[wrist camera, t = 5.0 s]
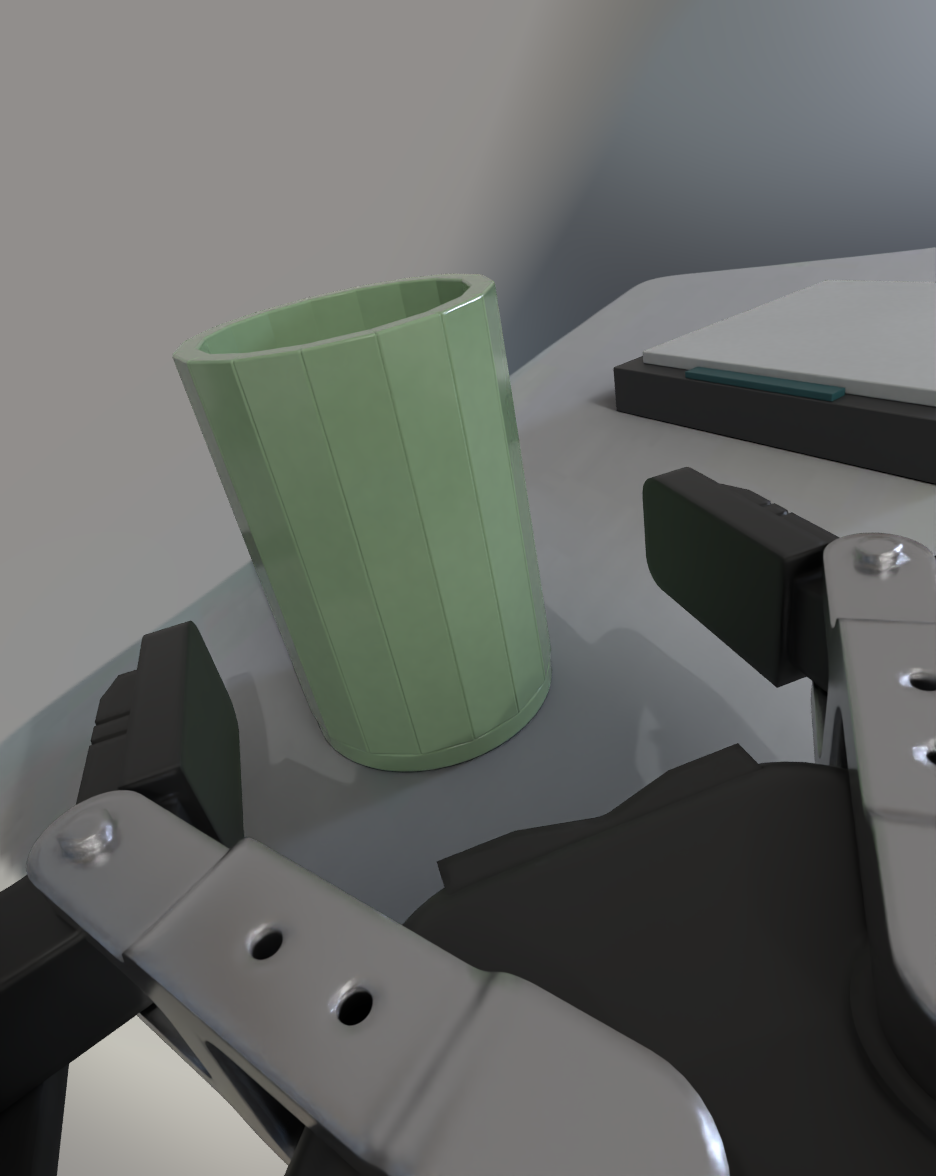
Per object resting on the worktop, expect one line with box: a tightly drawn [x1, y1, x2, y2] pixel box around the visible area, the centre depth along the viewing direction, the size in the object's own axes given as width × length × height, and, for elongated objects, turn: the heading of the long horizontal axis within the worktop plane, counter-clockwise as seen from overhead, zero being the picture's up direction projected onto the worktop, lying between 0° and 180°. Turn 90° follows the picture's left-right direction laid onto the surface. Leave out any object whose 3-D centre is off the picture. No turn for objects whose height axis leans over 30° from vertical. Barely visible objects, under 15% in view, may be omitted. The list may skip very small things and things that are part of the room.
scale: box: [614, 280, 936, 484], centre depth 32 cm, size 16×16×3 cm
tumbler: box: [173, 274, 552, 772], centre depth 17 cm, size 7×7×10 cm
